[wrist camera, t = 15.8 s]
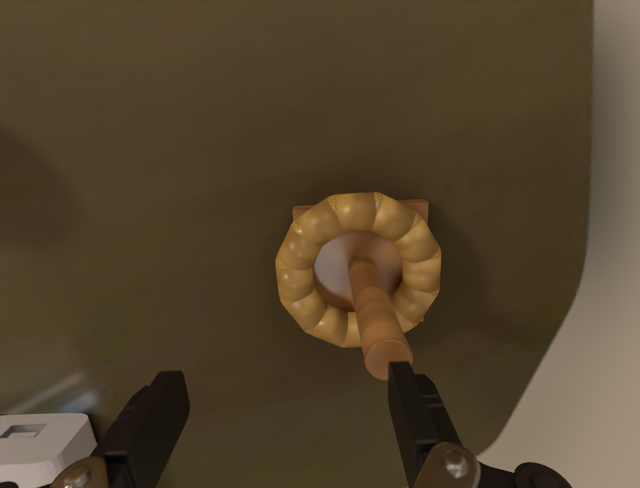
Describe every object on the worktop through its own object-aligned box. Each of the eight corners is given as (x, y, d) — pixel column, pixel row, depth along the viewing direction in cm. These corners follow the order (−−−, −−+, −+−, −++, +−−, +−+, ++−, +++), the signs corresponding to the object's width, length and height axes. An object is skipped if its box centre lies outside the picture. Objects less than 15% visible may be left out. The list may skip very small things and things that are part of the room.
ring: (270, 196, 22) (264, 203, 19) (436, 184, 21) (450, 190, 19) (287, 338, 25) (284, 358, 23) (431, 329, 25) (442, 349, 23)
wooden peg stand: (293, 206, 23) (270, 266, 13) (423, 199, 23) (511, 253, 12) (303, 319, 26) (290, 447, 15) (418, 314, 26) (487, 439, 15)
